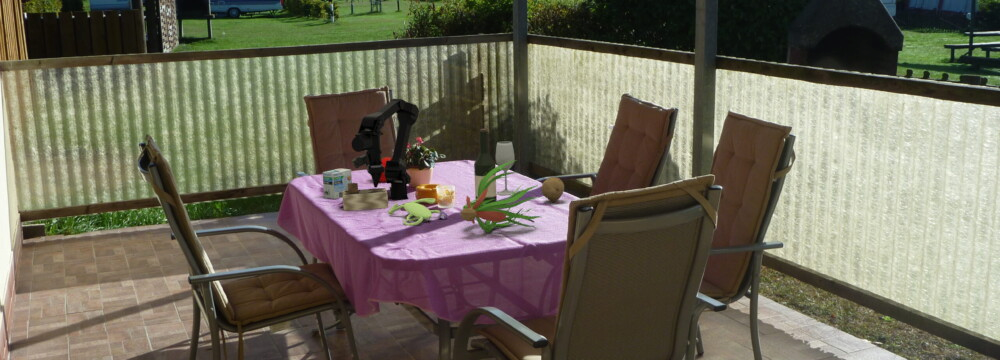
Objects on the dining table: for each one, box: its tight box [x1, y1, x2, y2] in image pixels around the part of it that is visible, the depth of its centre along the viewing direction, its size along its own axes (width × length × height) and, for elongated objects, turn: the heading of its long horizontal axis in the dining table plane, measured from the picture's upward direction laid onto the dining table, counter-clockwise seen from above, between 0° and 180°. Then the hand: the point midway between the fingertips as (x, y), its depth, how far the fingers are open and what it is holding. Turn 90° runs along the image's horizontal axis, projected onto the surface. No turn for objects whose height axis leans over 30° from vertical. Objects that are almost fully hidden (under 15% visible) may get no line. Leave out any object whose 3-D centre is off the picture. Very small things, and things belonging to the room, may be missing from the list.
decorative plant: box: [460, 159, 541, 233], centre depth 372 cm, size 26×25×30 cm
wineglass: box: [495, 141, 515, 196], centre depth 433 cm, size 8×8×21 cm
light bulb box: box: [322, 167, 353, 200], centre depth 440 cm, size 11×7×11 cm, turn 143°
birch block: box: [342, 187, 389, 212], centre depth 418 cm, size 17×10×6 cm, turn 101°
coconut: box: [540, 176, 565, 203], centre depth 414 cm, size 9×9×10 cm
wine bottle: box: [473, 128, 498, 207], centre depth 409 cm, size 8×8×30 cm
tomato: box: [370, 155, 392, 183], centre depth 470 cm, size 12×13×11 cm
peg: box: [347, 182, 359, 193], centre depth 417 cm, size 4×4×6 cm
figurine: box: [387, 197, 449, 227], centre depth 397 cm, size 18×27×6 cm
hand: (375, 187), depth 418 cm, fingers closed
